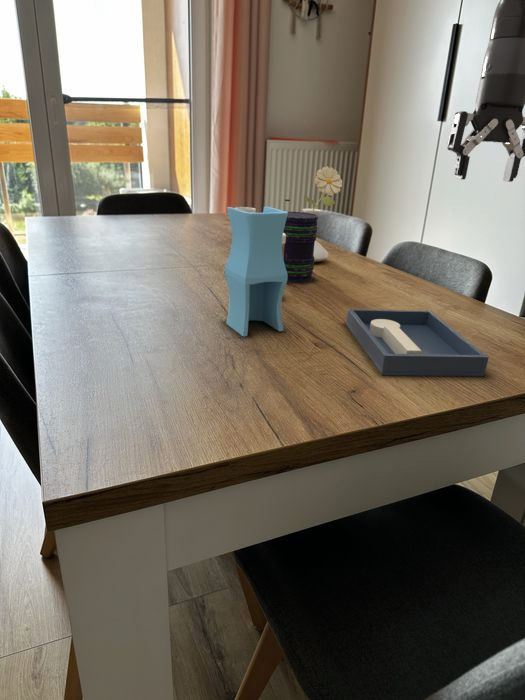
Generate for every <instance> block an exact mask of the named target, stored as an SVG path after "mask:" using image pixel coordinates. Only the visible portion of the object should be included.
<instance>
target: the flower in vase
mask: <svg viewBox="0 0 525 700" xmlns="http://www.w3.org/2000/svg"><path fill="white" fill-rule="evenodd" d="M315 174H316V176H315V180H314V184H315V185H316V187H317V188H318V191H319V192H320V193H321V196H320V198H319V199H318V201H317V202H316V200H315V199H312V198H310V197H308V196H306V195H304V200H305V201H306V202H307V203H309V204H312V205H314V207H313V208H302V211H303V213H310V214H315V215H317V216H318V217H319V215H320V213H321V212H322V209H319V208H317V206H318V205H319V203H320V202H321V203H322V204H323V205H324V206H326V207H329V206H333V205H336V202H335V200H334V199H333V198H332V197H333V196H335V194H338V193H340V192H341V188H342V187H343V179H341V174H339V172H338V171H337V169H334V168H333V167H332V166H330V167H329V166H328V165H326V166H323V167H322V168H321V169H318V170H317V171H316V173H315ZM324 195H326V196H324ZM323 196H324V197H323ZM313 256H314V263H320V262H323V261H326V260H328V258H329V256H330V255H329V252H328V251H327V250H326V248H325V247H323V245H321V244H320V243H319V241H317V239H316V240H315V243H314V254H313Z"/></svg>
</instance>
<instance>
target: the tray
mask: <svg viewBox="0 0 525 700" xmlns="http://www.w3.org/2000/svg"><path fill="white" fill-rule="evenodd" d="M375 319H387V320H392V321H395V322H397V323H399V324H400V329H401V330H402V331H403V332H404V333H405V334H406V335H407V336H408V337H409V338H410V339H411V340H412V341H413V343H414V344H415V345H416V346H417V347H418V348H419V349H420V350H421V354H395V353H394V352H393V351H392V349H391V348H390V347H389V346H388V345H387V343H386V342H385V341H384V340H383V339H382V338H380V337H376V336H374V335H373V334H372V333H371V332H370V324H371V321H372V320H375ZM345 325H346V327H347V328H348V330H349V331H350V332H351V334H352V336H353V337H354V338H355V340H356V341H357V342H358V344H359V345H360V347H361V349H363V351H364V353H365V354H366V355H367V356H368V358H369V359H370V361H371V362H372V364H373V365H374V367H375V368H376V369H377V371H378V372H379V374H380V375H381V376H413V377H414V376H419V377H420V376H422V377H438V376H439V377H485V375H486V370H487V367H488V362H489V356H488V355H487V354H485V353H484V352H483V351H482V350H480V349H479V347H477V346H476V345H474V344H473V343H472V342H471V341H469V340H468V339H467V338H465V337H464V336H463V335H462V334H461V333H459V332H458V331H457V330H456V329H454V328H453V327H452V326H451V325H449V324H448V323H447V322H445V321H444V320H443V319H442V318H441V317H439V316H438V315H437V314H436V313H434V312H433V311H432V310H418V309H417V310H416V309H415V310H411V309H410V310H409V309H372V308H371V309H369V308H368V309H367V308H348V309H347V314H346V323H345Z"/></svg>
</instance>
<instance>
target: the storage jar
mask: <svg viewBox="0 0 525 700" xmlns="http://www.w3.org/2000/svg"><path fill="white" fill-rule="evenodd" d="M284 202H291V199H284ZM287 212H288V216H287V219H286V222H285V226H284V231H283V233H284V234H286V242H285V245H284V257H283V260H284V264H285V268H286V271H287V275H288V278H287V283H286V284H308V283H310V282H312V281H313V274H314V269H315V268H314V267H315V262H314V256H313V254H314V243H315V240H316V241H317V233H318V219H319V215H318V216H317V215H315V214H310V213H304V211H303V212H302V211H287Z"/></svg>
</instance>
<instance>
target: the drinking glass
mask: <svg viewBox="0 0 525 700" xmlns="http://www.w3.org/2000/svg"><path fill="white" fill-rule="evenodd" d="M234 208H235V209H239V210H242V211H245V212H252V213H256V210H257V209H256V207H249V206H235V207H234Z"/></svg>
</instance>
